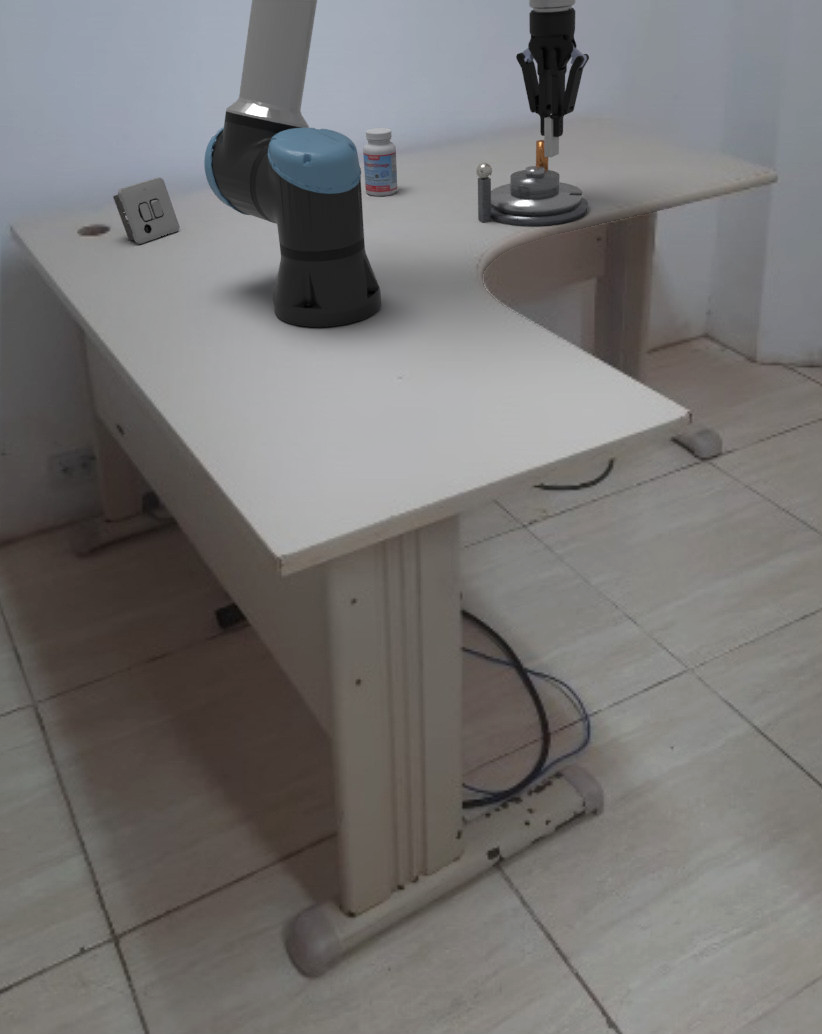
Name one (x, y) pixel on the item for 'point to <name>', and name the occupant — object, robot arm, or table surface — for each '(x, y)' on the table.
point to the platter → (561, 203)
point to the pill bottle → (380, 163)
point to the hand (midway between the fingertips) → (551, 155)
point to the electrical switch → (146, 210)
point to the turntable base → (540, 217)
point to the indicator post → (484, 192)
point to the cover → (534, 183)
